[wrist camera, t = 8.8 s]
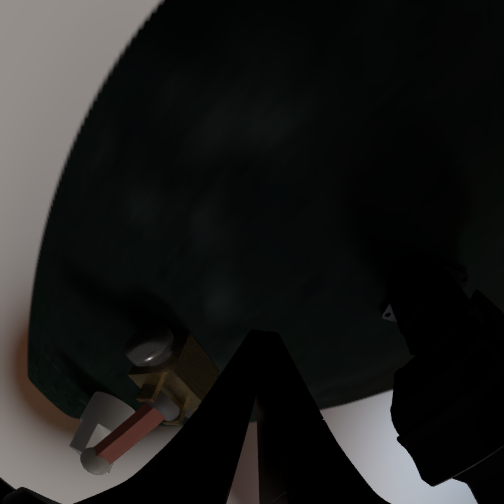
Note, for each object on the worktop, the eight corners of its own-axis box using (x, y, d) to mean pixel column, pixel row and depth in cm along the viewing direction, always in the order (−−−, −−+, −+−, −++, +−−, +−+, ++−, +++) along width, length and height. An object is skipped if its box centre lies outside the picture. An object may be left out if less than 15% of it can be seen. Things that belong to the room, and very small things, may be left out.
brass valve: (178, 316, 25) (147, 376, 19) (228, 382, 29) (214, 439, 23) (134, 326, 27) (102, 378, 21) (186, 386, 31) (167, 437, 25)
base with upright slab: (146, 425, 40) (124, 479, 30) (107, 413, 42) (83, 461, 31) (126, 399, 36) (97, 459, 26) (85, 386, 38) (55, 438, 27)
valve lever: (166, 395, 21) (77, 470, 15) (185, 413, 23) (101, 484, 16) (154, 382, 24) (72, 451, 17) (171, 399, 25) (93, 466, 18)
